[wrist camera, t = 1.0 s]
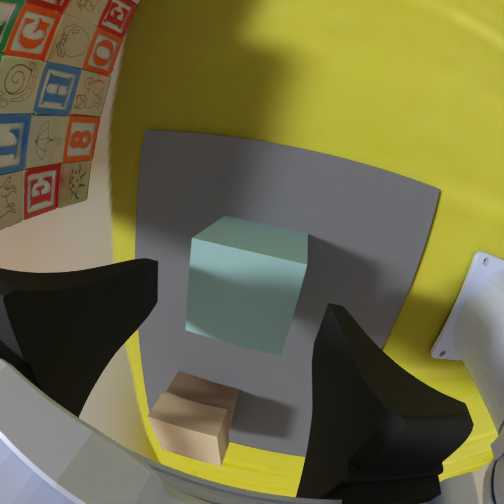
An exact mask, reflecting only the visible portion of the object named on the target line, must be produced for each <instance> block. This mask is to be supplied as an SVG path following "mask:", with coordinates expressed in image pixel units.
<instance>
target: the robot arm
mask: <svg viewBox="0 0 504 504" xmlns="http://www.w3.org/2000/svg"><path fill="white" fill-rule="evenodd" d="M485 258H486V261H485V262H484V259H485ZM483 262H484V263H483ZM157 302H158V261H156V260H152V259H148V258H140V259H134V260H129V261H124V262H120V263H115V264H111V265H107V266H101V267H96V268H92V269H86V270H80V271H71V272H60V273H31V272H20V271H13V270H6V269H1V268H0V504H479V500H478V495H477V490H476V486H475V482H474V477H473V473H472V472H469V473H466V474H462V475H458V476H455V477H451V478H448V479H445V480H443V481H441V482H439V477H438V475H439V474H441V473H442V472H443V465H442V462H443V461H444V460H445V459H446V458H448V457H449V456H450V455H451V454H452V453H453V452H454V451H455V450H457V449H458V448H459V447H460V446H461V445H462V444H463V443H464V442H465V441H466V439H467V438H468V436H469V435H470V433H471V431H472V429H473V425H474V424H473V422H472V419H471V416H470V414H469V411H468V409H467V406H466V404H465V403H463V402H461V401H459V400H456V399H454V398H452V397H449V396H447V395H445V394H443V393H441V392H439V391H437V390H435V389H433V388H431V387H430V386H428V385H426V384H425V383H423V382H421V381H420V380H418V379H417V378H415V377H414V376H412V375H411V374H410V373H408V372H407V371H405V370H404V369H403V368H401V367H400V366H399V365H398V364H397V363H395V362H394V361H393V360H392V359H391V358H390V357H389V356H387V355H386V354H385V353H384V352H383V351H382V350H381V349H380V348H379V347H378V346H377V345H376V344H375V343H374V342H373V341H372V339H371V338H370V337H369V336H368V335H367V334H366V333H365V331H364V330H363V329H362V328H361V327H360V325H359V324H358V323H357V322H356V321H355V319H354V318H353V317H352V316H351V314H350V313H349V312H348V311H347V310H346V309H345V308H344V307H343V306H341V305H336V304H331V303H328V305H327V308H326V311H325V314H324V317H323V320H322V322H321V325H320V328H319V331H318V333H317V336H316V339H315V341H314V346H313V355H312V420H311V427H310V434H309V441H308V447H307V452H306V458H305V462H304V467H303V471H302V476H301V480H300V484H299V488H298V491H297V495H296V497H287V496H279V495H272V494H266V493H260V492H255V491H250V490H245V489H240V488H236V487H231V486H227V485H223V484H220V483H216V482H212V481H209V480H206V479H202V478H199V477H196V476H193V475H190V474H187V473H184V472H181V471H178V470H176V469H173V468H170V467H168V466H165V465H163V464H160V463H158V462H155V461H153V460H151V459H148V458H146V457H144V456H142V455H140V454H138V453H136V452H133V451H131V450H129V449H127V448H125V447H124V446H122V445H120V444H119V443H117V442H116V441H114V440H112V439H111V438H109V437H108V436H106V435H105V434H103V433H102V432H100V431H99V430H97V429H96V428H94V427H92V426H90V425H89V424H87V423H86V422H84V421H83V420H81V419H80V418H79V415H80V413H81V411H82V408H83V406H84V404H85V402H86V400H87V398H88V396H89V394H90V392H91V390H92V388H93V387H94V385H95V383H96V382H97V380H98V378H99V377H100V375H101V373H102V372H103V370H104V369H105V367H106V366H107V364H108V363H109V361H110V360H111V359H112V357H113V356H114V354H115V353H116V352H117V351H118V350H119V348H120V347H121V346H122V345H123V344H124V343H125V342H126V341H127V340H128V339H129V337H130V336H131V335H132V334H133V333H134V332H135V331H136V330H137V329H138V328H139V327H140V325H141V324H142V323H143V322H144V321H145V320H146V319H147V317H148V316H149V315H150V313H151V312H152V310H153V309H154V307H155V305H156V304H157ZM442 351H443V352H442ZM430 354H431V356H432V358H438V359H449V360H461V361H463V363H464V364H465V366H466V368H467V370H468V372H469V373H470V375H471V377H472V379H473V381H474V383H475V385H476V387H477V389H478V391H479V393H480V395H481V397H482V399H483V401H484V403H485V405H486V407H487V409H488V411H489V414H490V416H491V418H492V420H493V423H494V425H495V427H496V430H497V432H498V435H499V436H498V437H497V438H496V440H495V441H494V442H493V443H492V444H491V449H492V452H493V455H494V458H493V459H492V461H491V463H490V464H489V466H488V468H487V470H486V473H485V477H484V482H483V493H482V494H483V504H504V259H501V258H499V257H496V256H494V255H491V254H489V253H486V252H483V251H477V252H476V253H475V255H474V257H473V260H472V263H471V266H470V268H469V271H468V274H467V276H466V279H465V281H464V284H463V286H462V288H461V291H460V293H459V295H458V298H457V300H456V302H455V304H454V306H453V309H452V311H451V313H450V315H449V317H448V319H447V321H446V323H445V325H444V327H443V329H442V331H441V333H440V334H439V336H438V338H437V340H436V342H435V343H434V345H433V347H432V349H431V351H430Z"/></svg>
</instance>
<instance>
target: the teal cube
mask: <svg viewBox="0 0 504 504" xmlns="http://www.w3.org/2000/svg"><path fill="white" fill-rule="evenodd" d="M307 255H308V234H307V233H303V232H299V231H294V230H290V229H285V228H281V227H276V226H272V225H267V224H263V223H258V222H253V221H249V220H244V219H239V218H234V217H230V216H224V217H222V218H221V219H219V220H218V221H216V222H215V223H213V224H212V225H210V226H209V227H207V228H206V229H204V230H203V231H202V232H200V233H199V234H197V235H196V236H194V237H193V238H192V243H191V254H190V265H189V278H188V293H187V309H186V330H187V331H190V332H193V333H196V334H200V335H203V336H206V337H210V338H213V339H216V340H220V341H223V342H227V343H230V344H234V345H238V346H242V347H245V348H249V349H253V350H257V351H261V352H265V353H269V354H274V355H278V356H281V354H282V350H283V347H284V344H285V341H286V338H287V334H288V331H289V328H290V325H291V321H292V318H293V314H294V311H295V308H296V304H297V301H298V297H299V294H300V290H301V286H302V283H303V279H304V275H305V272H306V268H307Z"/></svg>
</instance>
